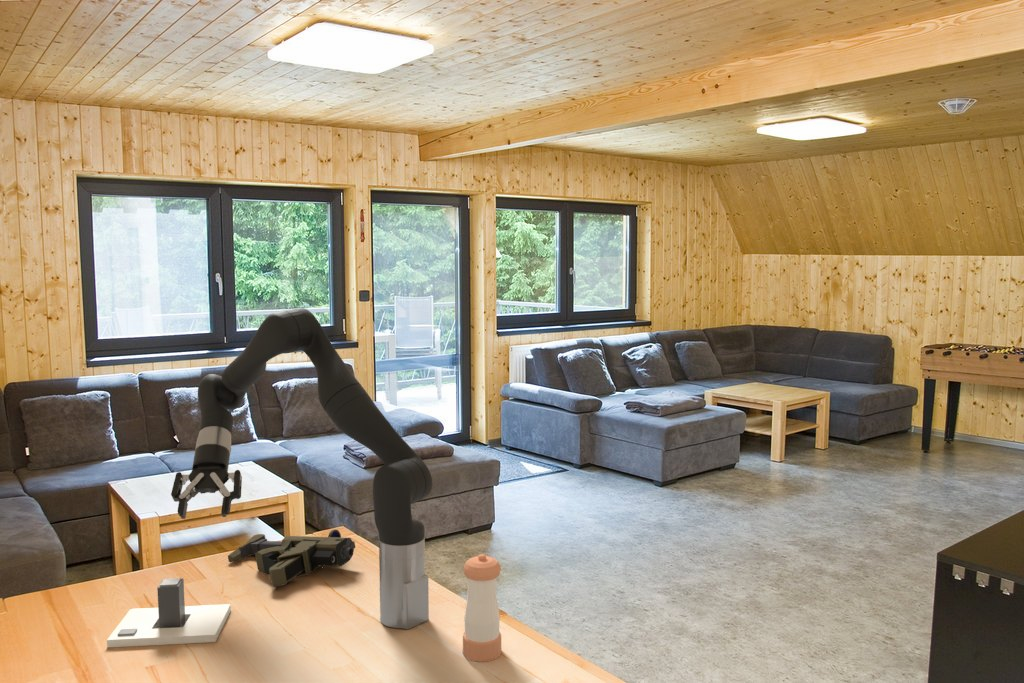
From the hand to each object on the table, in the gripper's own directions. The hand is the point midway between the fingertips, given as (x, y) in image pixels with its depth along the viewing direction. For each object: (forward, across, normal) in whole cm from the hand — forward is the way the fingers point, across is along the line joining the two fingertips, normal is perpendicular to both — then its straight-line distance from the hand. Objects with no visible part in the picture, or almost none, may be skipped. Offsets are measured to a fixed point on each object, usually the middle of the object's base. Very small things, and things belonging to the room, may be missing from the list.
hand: (203, 516), depth 180 cm
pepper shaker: (+36, +57, -7) cm, 68 cm away
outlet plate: (+23, -4, +4) cm, 23 cm away
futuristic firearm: (+2, +15, +25) cm, 29 cm away
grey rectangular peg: (+23, -4, +4) cm, 23 cm away
